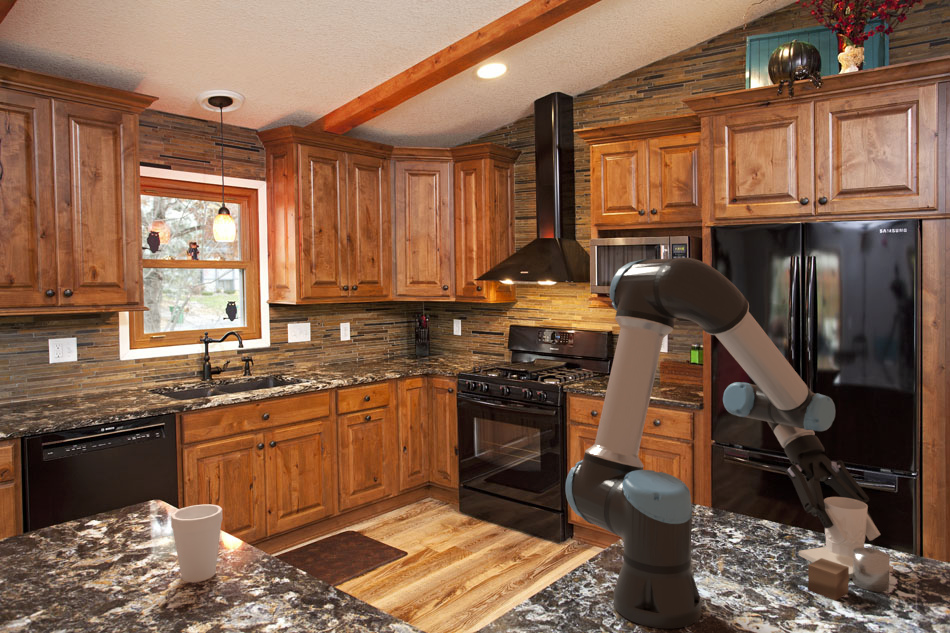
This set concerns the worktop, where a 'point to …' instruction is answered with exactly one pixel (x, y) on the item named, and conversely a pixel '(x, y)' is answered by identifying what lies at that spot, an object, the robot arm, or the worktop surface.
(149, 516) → the worktop surface
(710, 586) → the worktop surface
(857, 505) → the white cup
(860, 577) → the grey tin
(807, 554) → the tile
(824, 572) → the walnut block
